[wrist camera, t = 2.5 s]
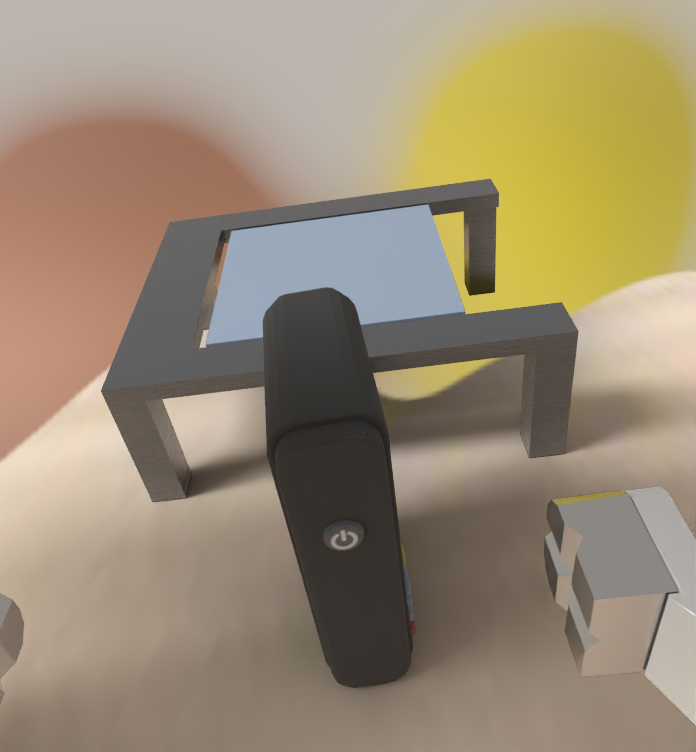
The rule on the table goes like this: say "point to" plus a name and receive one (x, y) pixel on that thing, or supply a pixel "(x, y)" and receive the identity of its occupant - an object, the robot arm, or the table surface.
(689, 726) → the table surface
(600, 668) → the robot arm
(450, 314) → the trapdoor
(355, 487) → the card reader
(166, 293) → the stand
